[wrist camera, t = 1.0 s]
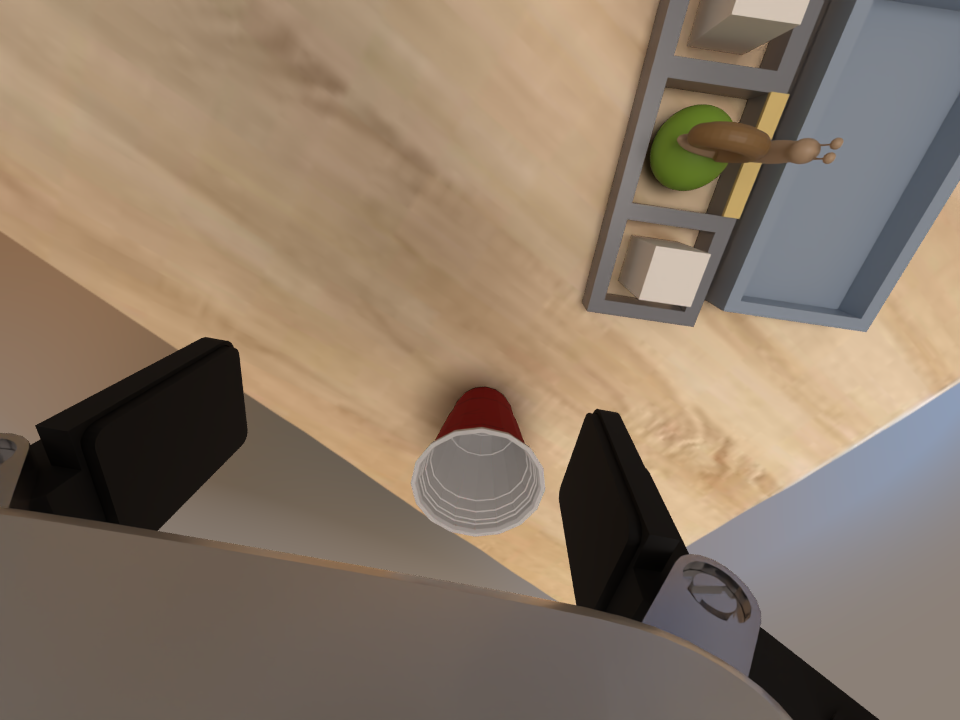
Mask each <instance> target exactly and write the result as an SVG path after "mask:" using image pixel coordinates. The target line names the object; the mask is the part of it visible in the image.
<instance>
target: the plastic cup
mask: <svg viewBox="0 0 960 720" xmlns="http://www.w3.org/2000/svg"><path fill="white" fill-rule="evenodd" d="M411 486H412V490H413V493H414V497H415V501H416V504H417V505H418V506H419V508H420V509H421V510H422V511H423V512H424V514H425V515H426V516H427V517H428V518H429V520H431V521H432V522H434V523H436V524H438V525H440V526H441V527H443V528H445V529H447V530H448V531H450V532H454V533H459V534H464V535H470V536H485V535H494V534H500V533H503V532H505V531H507V530H509V529H512V528H514V527H516V526H519V525H521V524H522V523H523V522H524V521H525V520H526V519H527V518H528V517H529V516H530V515H531V514H532V513H534V512H535V511H536V510H537V508H538V506H539V503H540V501H541V498H542V496H543V494H544V491H545V481H544V470H543V467H542V465H541V464H540V462H539V461H538V459H537V457H536V456H535V454H534V453H533V451H532V450H531V448H530V447H529V446H528V445H526V444H525V443H524V440H523V438H522V435H521V432H520V429H519V427H518V424H517V421H516V419H515V417H514V415H513V412H512V409H511V406H510V404H509V403H508V401H507V400H506V398H505V397H504V395H503V394H501V393H500V392H498V391H497V390H495V389H491V388H488V387H479V388H473V389H471V390H469V391H467V392H466V393H465V394H464V395H463V396H462V397H461V398H460V399H459V400H458V401H457V403H456V405H455V407H454V409H453V411H452V412H451V413H450V414H449V416H448V418H447V419H446V421H445V423H444V425H443V427H442V429H441V430H440V432H439V434H438V436H437V438H436V439H435V441H433V442H432V443H431V444H430V445H429V447H428V448H427V449H426V450H425V451H424V453H423V454H422V455H421V456H420V457H419V458H418V460H417V461H416V463H415V467H414V472H413V476H412V480H411Z"/></svg>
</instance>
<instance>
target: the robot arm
mask: <svg viewBox="0 0 960 720" xmlns="http://www.w3.org/2000/svg"><path fill="white" fill-rule="evenodd" d="M35 426H36V429H37V431H38V434H39V436H40V440H39V441H37V442H35V443H33V444H32V445H30V443H29V441H28V440H27V439H26V438H24V437H23V436H20V435H16V434H12V433H0V720H879V719H878V718H876V717H875V716H874V715H872V714H871V713H870V712H869V711H868V710H866V709H865V708H864V707H862V706H861V705H860V704H859V703H857V702H856V701H855V700H853V699H852V698H851V697H849V696H848V695H847V694H846V693H844V692H843V691H842V690H840V689H839V688H838V687H837V686H835V685H834V684H833V683H832V682H830V681H829V680H828V679H826V678H825V677H824V676H823V675H821V674H820V673H819V672H818V671H816V670H815V669H814V668H812V667H811V666H810V665H808V664H807V663H806V662H805V661H803V660H802V659H801V658H800V657H798V656H797V655H795V654H794V653H793V652H792V651H791V650H789V649H788V648H787V647H785V646H784V645H783V644H782V643H780V642H779V641H778V640H776V639H775V638H774V637H773V636H771V635H770V634H769V633H768V632H766V631H765V630H764V629H762V628H761V627H760V625H761V611H760V608H759V605H758V603H757V600H756V598H755V597H754V595H753V594H752V592H751V591H750V589H749V588H748V587H747V586H746V585H745V584H744V583H743V582H742V581H741V579H739V578H738V576H737V575H735V574H734V573H733V572H732V571H730V570H729V569H728V568H726V567H725V566H723V565H722V564H720V563H718V562H716V561H714V560H712V559H710V558H707V557H704V556H701V555H694V554H689V553H688V551H687V549H686V547H685V545H684V542H683V540H682V538H681V536H680V534H679V532H678V530H677V528H676V526H675V524H674V522H673V520H672V518H671V516H670V514H669V512H668V510H667V508H666V506H665V504H664V502H663V500H662V497H661V495H660V493H659V491H658V489H657V487H656V485H655V483H654V481H653V479H652V477H651V475H650V473H649V472H648V470H647V469H646V468H645V466H644V464H643V462H642V460H641V458H640V456H639V454H638V452H637V450H636V448H635V445H634V443H633V441H632V439H631V437H630V435H629V433H628V431H627V429H626V427H625V425H624V423H623V421H622V419H621V416H620V415H619V413H616V412H611V411H605V410H600V409H596V410H595V411H594V412H593V414H592V413H588V414H587V415H586V417H585V419H584V422H583V425H582V428H581V430H580V433H579V436H578V439H577V442H576V445H575V447H574V450H573V453H572V456H571V459H570V462H569V464H568V467H567V470H566V473H565V476H564V478H563V481H562V484H561V487H560V491H559V503H560V509H561V515H562V521H563V528H564V534H565V540H566V546H567V552H568V558H569V564H570V570H571V576H572V582H573V588H574V594H575V600H576V605H571V604H566V603H561V602H556V601H551V600H546V599H541V598H536V597H531V596H526V595H520V594H516V593H510V592H505V591H500V590H494V589H489V588H483V587H477V586H472V585H466V584H460V583H455V582H450V581H444V580H438V579H433V578H427V577H422V576H416V575H410V574H404V573H399V572H394V571H388V570H382V569H376V568H371V567H365V566H359V565H354V564H348V563H342V562H337V561H331V560H325V559H319V558H314V557H308V556H302V555H296V554H290V553H285V552H279V551H273V550H266V549H261V548H255V547H250V546H244V545H238V544H232V543H226V542H220V541H214V540H208V539H202V538H196V537H190V536H184V535H178V534H172V533H166V532H160V531H158V530H159V528H161V527H162V526H163V525H164V524H165V522H167V521H168V520H169V519H170V518H171V517H172V515H174V514H175V512H176V511H177V510H178V509H179V508H180V507H181V506H182V505H183V504H184V503H185V502H186V501H187V500H188V499H189V498H190V497H191V496H192V495H193V494H194V493H195V492H196V491H197V490H198V489H199V488H200V487H201V486H202V485H203V484H204V483H205V482H206V481H207V480H208V479H209V478H210V477H211V476H212V475H213V474H214V473H215V472H216V471H217V470H218V469H219V468H220V467H221V466H222V465H223V464H224V463H225V462H226V461H227V460H228V459H229V458H230V457H231V456H232V455H233V454H234V453H235V452H236V451H237V450H238V449H239V448H240V447H241V446H242V444H243V443H244V442H245V440H246V437H247V421H246V412H245V403H244V394H243V385H242V375H241V366H240V357H239V352H238V350H237V349H236V348H234V347H233V345H232V343H231V342H229V341H224V340H219V339H213V338H208V337H204V338H201V339H199V340H197V341H195V342H193V343H191V344H190V345H188V346H186V347H184V348H182V349H180V350H178V351H176V352H175V353H173V354H171V355H169V356H167V357H165V358H163V359H161V360H159V361H157V362H155V363H154V364H152V365H150V366H148V367H146V368H144V369H142V370H140V371H138V372H136V373H134V374H133V375H131V376H129V377H127V378H125V379H123V380H121V381H119V382H117V383H116V384H113V385H112V386H110V387H108V388H106V389H104V390H102V391H100V392H98V393H96V394H94V395H93V396H91V397H89V398H87V399H85V400H83V401H81V402H79V403H77V404H75V405H74V406H72V407H70V408H68V409H66V410H64V411H62V412H60V413H58V414H56V415H54V416H53V417H51V418H49V419H47V420H45V421H43V422H41V423H39V424H37V425H35Z"/></svg>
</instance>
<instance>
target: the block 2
mask: <svg viewBox="0 0 960 720" xmlns="http://www.w3.org/2000/svg"><path fill="white" fill-rule="evenodd" d="M809 1H810V0H700V3H699V7H698V10H697V14H696V17H695V20H694V24H693V27H692V31H691V34H690V38H689V41H688V44H687V47H694V48H700V49H707V50H714V51H720V52H727V53H734V54H740V55H743V54H745V53H747V52H749V51H751V50H752V49H754V48H756V47H758V46H760V45H762V44H764V43H766V42H768V41H770V40H772V39H774V38H776V37H778V36H779V35H781V34H783V33H785V32H787V31H789V30H791V29H793V28H795V27H797V26H799V25H801V22H802V19H803V17H804V14H805V12H806V9H807V7H808V4H809Z"/></svg>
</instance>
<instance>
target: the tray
mask: <svg viewBox="0 0 960 720" xmlns="http://www.w3.org/2000/svg"><path fill="white" fill-rule="evenodd" d="M787 94H790V95H789V97H788V100H787V102H786V105H785V107H784V110H783V112H782V115H781V117H780V120H779V122H778V125H777V127H776V130H775V132H774V135H773V137H772V139H771V141H773V140H792V141H798V140H800V139H804V138H813V139H815V140H817V141H818V142H819V143H820V144H830V143H831V141H832V140H833V139H835V138H842V139H843V140H844V142H843V145H842V146H841V147H840V148H839V149H836V150H833V149H831V148H830V145H829V146H821V151H820V153H819V155H818V156H817V157H816V158H823V157H824V155H826V154H827V153H830V152H833V153H835V154H836V158H835V160H834V161H833V162H832V163H830V164H825V163H823V161H822V160H812V161H811V162H808V163H805V164H794V163H791V162H789V163H781V164H764V163H762V164H761V167H760V169H759V172H758V174H757V177H756V179H755V182H754V184H753V187H752V189H751V191H750V194H749V196H748V199H747V201H746V204H745V206H744V209H743V211H742V214H741V216H740V219H737V220H736V222H735V225H734V227H733V230H732V232H731V235H730V237H729V240H728V242H727V245H726V247H725V250H724V252H723V255H722V257H721V260H720V262H719V265H718V267H717V270H716V272H715V275H714V277H713V280H712V282H711V285H710V287H709V290H708V292H707V295H706V297H705V300H706V301H708V302H710V303H711V304H713V305H714V306H716V307H718V308H719V309H721V310H723V311H727V312H734V313H741V314H747V315H754V316H761V317H768V318H775V319H781V320H788V321H795V322H802V323H808V324H815V325H822V326H829V327H836V328H842V329H849V330H856V331H863V332H867V330H868V329H869V327H870V325H871V324H872V322H873V320H874V319H875V317H876V316H877V314H878V312H879V311H880V309H881V307H882V306H883V304H884V303H885V301H886V299H887V298H888V296H889V294H890V293H891V291H892V290H893V288H894V286H895V285H896V283H897V281H898V280H899V278H900V277H901V275H902V273H903V272H904V270H905V268H906V267H907V265H908V264H909V262H910V260H911V259H912V257H913V255H914V254H915V252H916V251H917V249H918V247H919V246H920V244H921V242H922V241H923V239H924V238H925V236H926V234H927V233H928V231H929V229H930V228H931V226H932V225H933V223H934V221H935V220H936V218H937V216H938V215H939V213H940V212H941V210H942V208H943V207H944V205H945V203H946V202H947V200H948V199H949V197H950V195H951V194H952V192H953V190H954V189H955V187H956V185H957V184H958V182H959V181H960V0H824V3H823V5H822V8H821V10H820V13H819V15H818V18H817V20H816V23H815V25H814V28H813V30H812V33H811V35H810V38H809V40H808V43H807V45H806V48H805V50H804V53H803V55H802V58H801V60H800V63H799V65H798V68H797V70H796V73H795V75H794V78H793V80H792V83H791V85H790V88H789V90H788V93H787Z"/></svg>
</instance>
